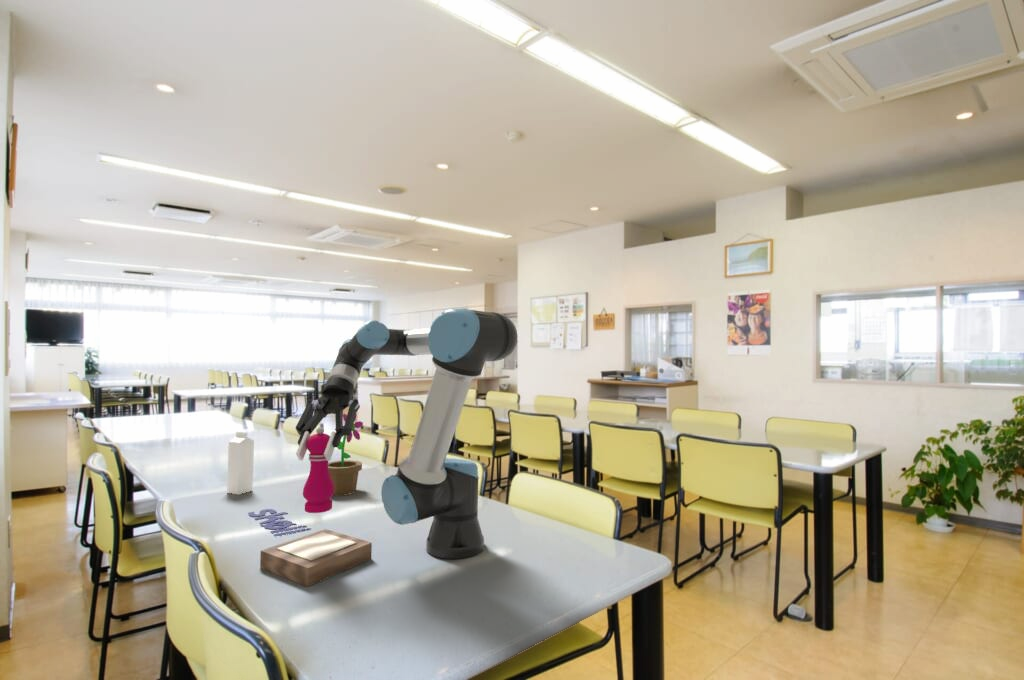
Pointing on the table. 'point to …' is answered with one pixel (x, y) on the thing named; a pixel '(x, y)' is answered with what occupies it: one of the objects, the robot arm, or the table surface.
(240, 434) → the milk
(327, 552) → the walnut stand
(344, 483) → the flowerpot
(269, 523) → the signage
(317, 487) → the pepper mill
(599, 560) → the table surface
